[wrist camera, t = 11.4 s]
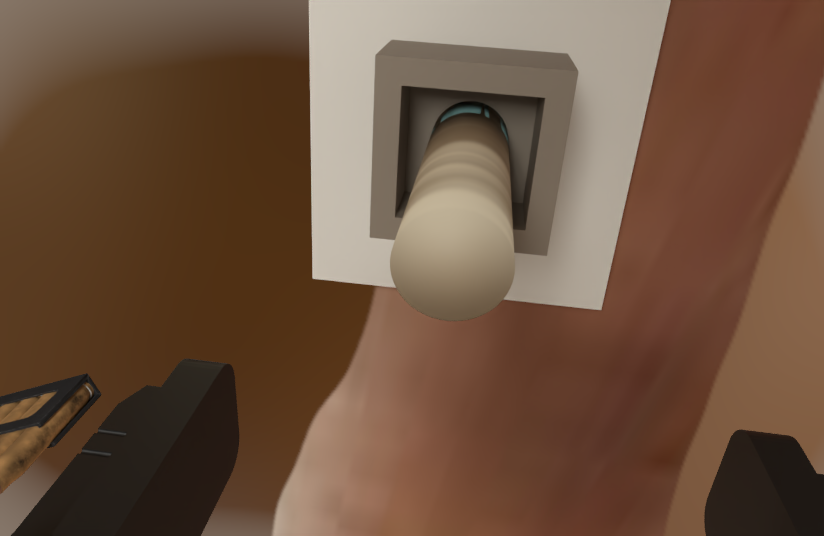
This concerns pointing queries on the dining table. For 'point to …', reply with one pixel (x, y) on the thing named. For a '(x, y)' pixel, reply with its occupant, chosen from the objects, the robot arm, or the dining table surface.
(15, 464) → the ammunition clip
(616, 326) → the dining table surface
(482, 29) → the cup bracket
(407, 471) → the dining table surface
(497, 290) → the rail post
